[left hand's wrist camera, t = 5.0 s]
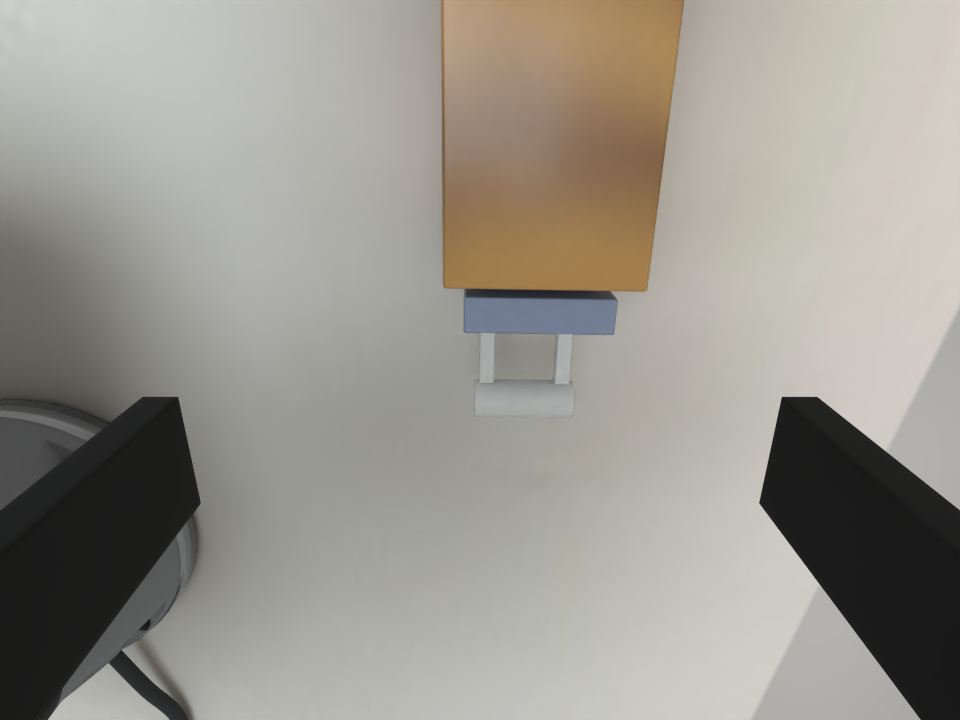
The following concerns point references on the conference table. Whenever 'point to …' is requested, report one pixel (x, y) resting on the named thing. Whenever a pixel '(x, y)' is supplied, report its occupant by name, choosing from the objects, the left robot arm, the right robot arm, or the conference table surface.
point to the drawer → (533, 316)
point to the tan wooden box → (554, 140)
